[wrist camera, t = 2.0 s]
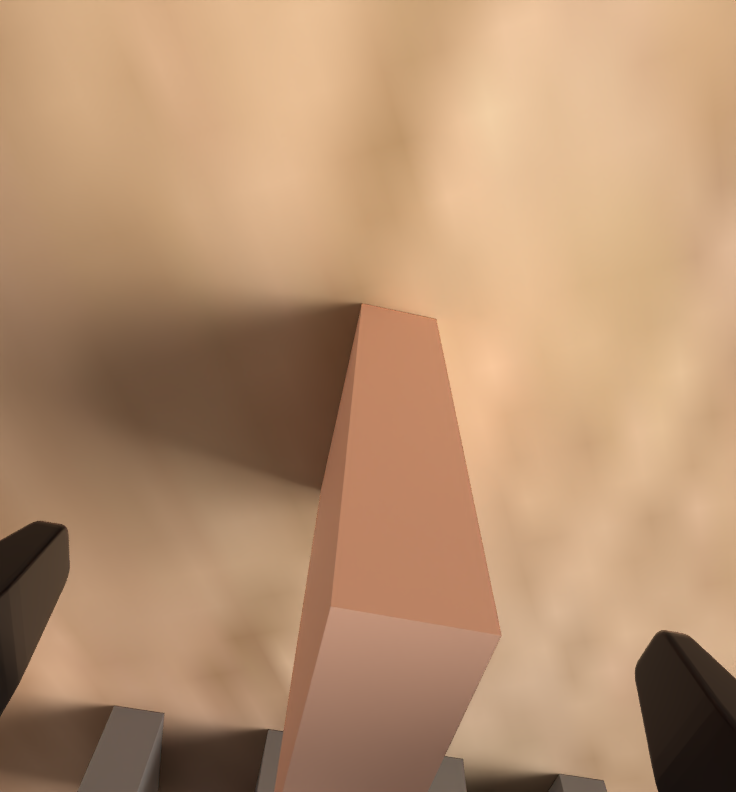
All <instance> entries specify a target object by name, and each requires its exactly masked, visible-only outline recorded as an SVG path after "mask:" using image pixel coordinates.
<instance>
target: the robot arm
mask: <svg viewBox="0 0 736 792" xmlns="http://www.w3.org/2000/svg"><path fill="white" fill-rule="evenodd" d="M69 568H70V560H69V534H68V530H67V527H66V526H64V525H62V524H57V523H51V522H45V521H36V522H33V523H30V524H29V525H27V526H25V527H23V528H22V529H20V530H18V531H16V532H14V533H13V534H11V535H9V536H7V537H6V538H4V539H2V540H0V716H1V714H2V713H3V711H4V709H5V707H6V706H7V704H8V702H9V701H10V699H11V697H12V695H13V694H14V692H15V690H16V688H17V686H18V685H19V683H20V681H21V679H22V676H23V674H24V672H25V670H26V668H27V666H28V664H29V662H30V660H31V657H32V655H33V653H34V651H35V649H36V647H37V644H38V642H39V640H40V638H41V636H42V633H43V631H44V629H45V627H46V625H47V623H48V620H49V618H50V616H51V614H52V612H53V609H54V607H55V605H56V603H57V601H58V599H59V596H60V594H61V592H62V590H63V588H64V586H65V583H66V581H67V578H68V574H69ZM635 681H636V686H637V691H638V697H639V702H640V707H641V712H642V717H643V722H644V728H645V733H646V738H647V743H648V748H649V754H650V759H651V764H652V768H653V773H654V777H655V782H656V786H657V789H658V792H736V679H735V678H734V677H733V676H732V675H731V674H730V673H729V672H728V671H727V670H726V669H725V668H724V667H723V666H721V665H720V664H719V663H718V662H717V661H716V660H715V659H714V658H713V657H712V656H711V655H710V654H709V653H707V652H706V651H705V650H704V649H703V648H702V647H701V646H700V645H699V644H698V643H697V642H696V641H695V640H693V639H692V638H691V637H690V636H688V635H686V634H683V633H678V632H672V631H666V630H661V631H659V632H658V633H656V634H655V636H654V637H653V639H652V640H651V642H650V643H649V645H648V646H647V648H646V649H645V651H644V653H643V654H642V656H641V657H640V659H639V660H638V662H637V665H636V668H635Z"/></svg>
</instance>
